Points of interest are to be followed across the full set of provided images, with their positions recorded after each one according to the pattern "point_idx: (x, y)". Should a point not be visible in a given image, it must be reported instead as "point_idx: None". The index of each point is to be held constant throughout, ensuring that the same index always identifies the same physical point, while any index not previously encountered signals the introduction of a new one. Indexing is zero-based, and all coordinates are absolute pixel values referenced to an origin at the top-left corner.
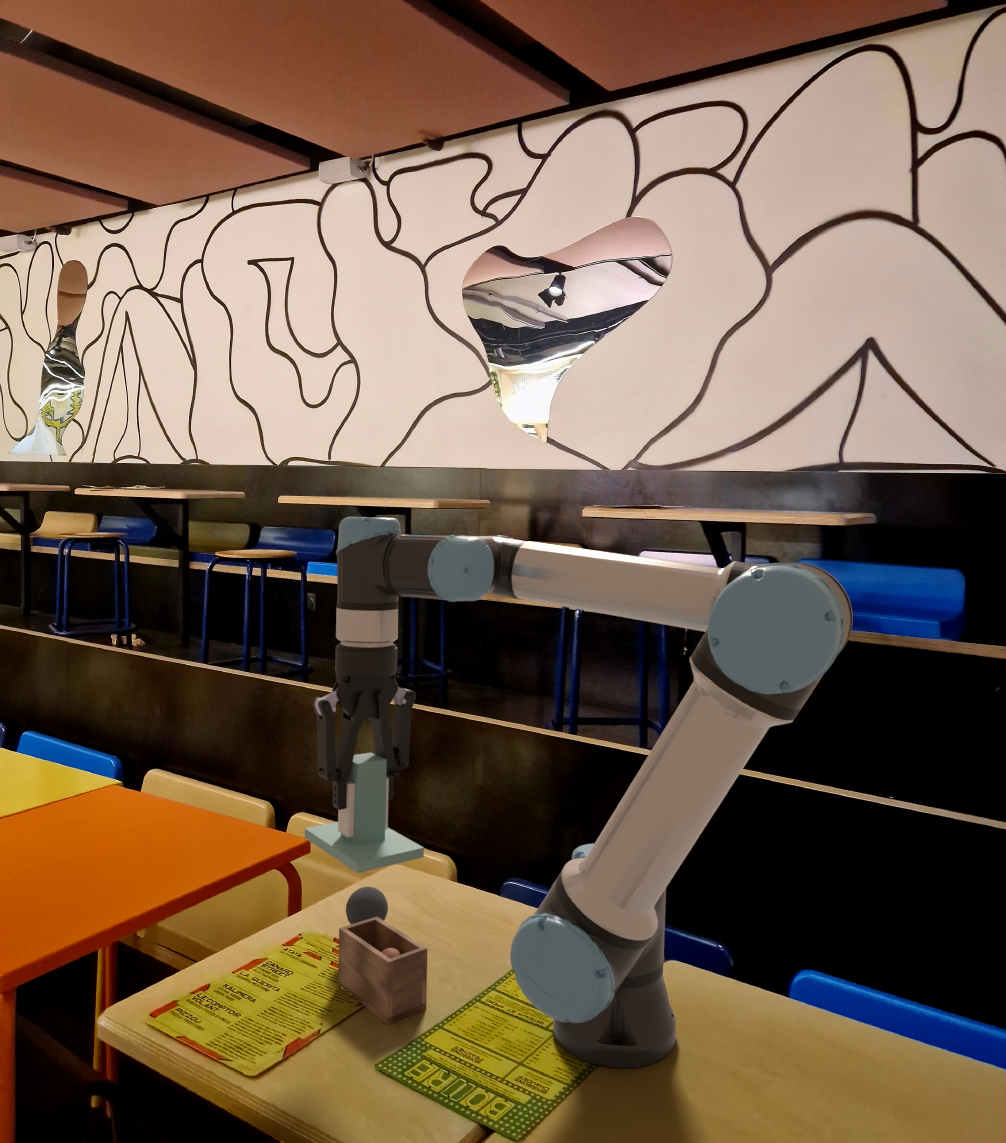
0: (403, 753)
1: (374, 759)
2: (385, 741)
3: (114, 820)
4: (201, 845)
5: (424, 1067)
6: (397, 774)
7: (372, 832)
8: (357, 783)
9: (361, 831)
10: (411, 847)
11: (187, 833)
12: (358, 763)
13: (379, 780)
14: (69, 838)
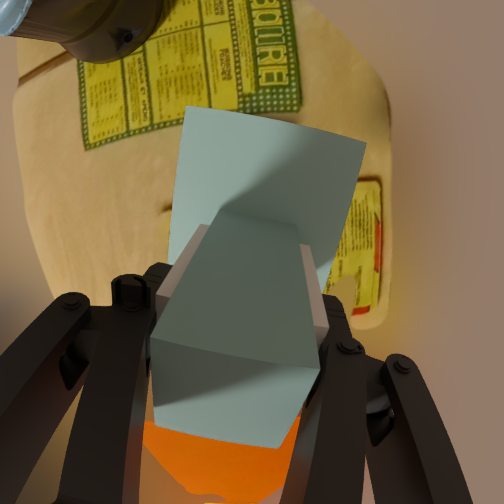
0: (53, 332)
1: (201, 371)
2: (112, 420)
3: (217, 485)
4: (189, 451)
5: (268, 76)
6: (124, 277)
7: (252, 223)
8: (310, 311)
9: (283, 233)
10: (208, 124)
11: (189, 462)
12: (310, 373)
13: (209, 289)
14: (250, 484)
